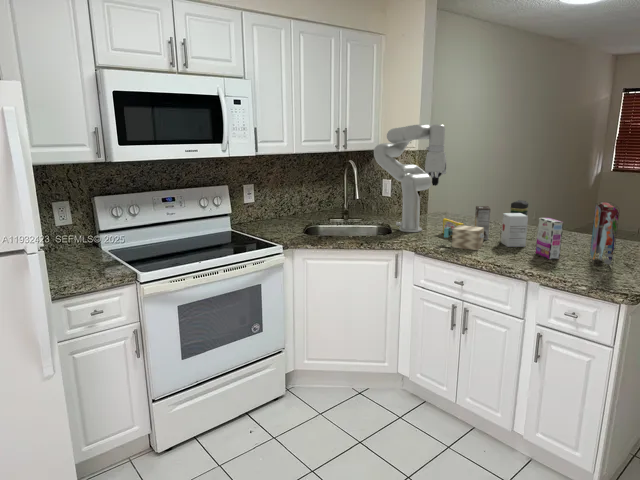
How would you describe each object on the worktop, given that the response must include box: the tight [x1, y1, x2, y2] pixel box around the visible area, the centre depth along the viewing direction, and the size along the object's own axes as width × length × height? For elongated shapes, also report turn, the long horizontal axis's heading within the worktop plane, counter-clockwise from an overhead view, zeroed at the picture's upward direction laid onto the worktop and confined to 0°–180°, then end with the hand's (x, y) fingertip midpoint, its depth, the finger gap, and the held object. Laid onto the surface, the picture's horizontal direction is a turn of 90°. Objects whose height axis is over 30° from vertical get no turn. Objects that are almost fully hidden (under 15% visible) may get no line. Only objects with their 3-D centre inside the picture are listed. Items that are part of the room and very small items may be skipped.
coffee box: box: [474, 205, 491, 241], centre depth 234 cm, size 9×6×16 cm
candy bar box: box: [535, 217, 564, 260], centre depth 197 cm, size 11×5×16 cm, turn 5°
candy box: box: [442, 218, 465, 237], centre depth 240 cm, size 16×2×8 cm, turn 19°
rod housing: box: [451, 225, 484, 251], centre depth 217 cm, size 12×10×9 cm
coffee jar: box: [509, 199, 529, 216], centre depth 237 cm, size 10×8×19 cm
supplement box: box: [500, 212, 529, 248], centre depth 218 cm, size 9×9×15 cm
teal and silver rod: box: [443, 227, 484, 239], centre depth 218 cm, size 18×4×4 cm, turn 57°
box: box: [589, 201, 620, 270], centre depth 188 cm, size 25×6×24 cm, turn 156°
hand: (435, 185), depth 235 cm, fingers closed
